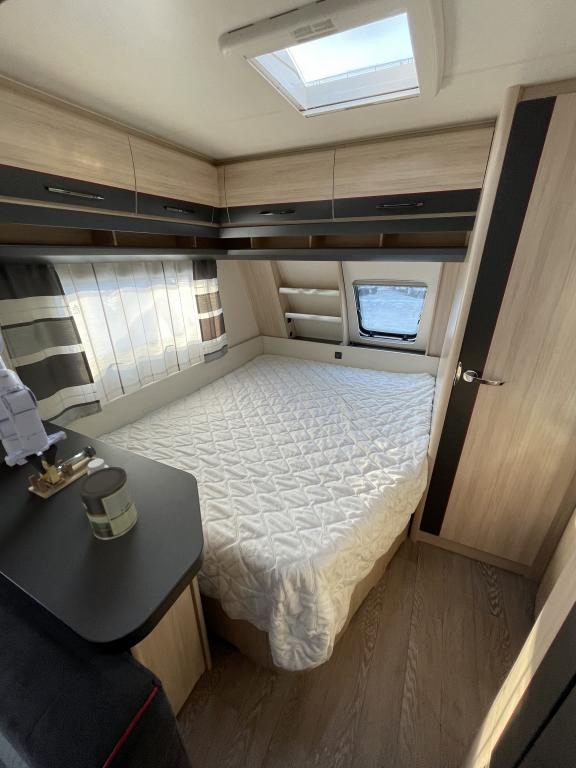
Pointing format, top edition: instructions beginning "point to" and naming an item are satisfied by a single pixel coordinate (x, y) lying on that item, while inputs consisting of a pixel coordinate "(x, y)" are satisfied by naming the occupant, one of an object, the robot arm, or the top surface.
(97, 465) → the supplement bottle
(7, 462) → the robot arm
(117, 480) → the coffee can
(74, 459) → the shaft
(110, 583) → the top surface
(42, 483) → the bearing bed
